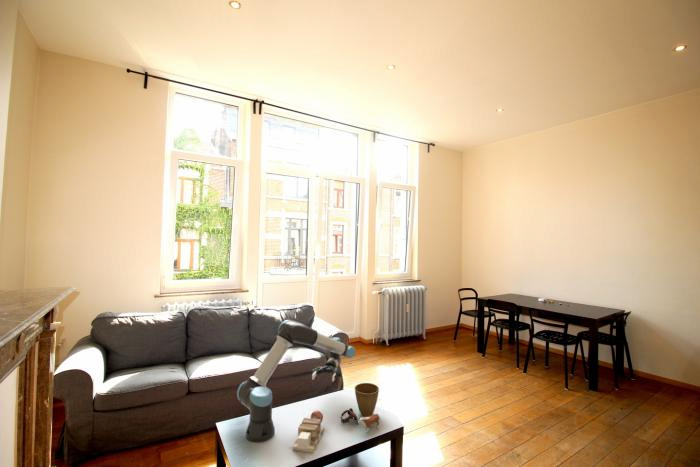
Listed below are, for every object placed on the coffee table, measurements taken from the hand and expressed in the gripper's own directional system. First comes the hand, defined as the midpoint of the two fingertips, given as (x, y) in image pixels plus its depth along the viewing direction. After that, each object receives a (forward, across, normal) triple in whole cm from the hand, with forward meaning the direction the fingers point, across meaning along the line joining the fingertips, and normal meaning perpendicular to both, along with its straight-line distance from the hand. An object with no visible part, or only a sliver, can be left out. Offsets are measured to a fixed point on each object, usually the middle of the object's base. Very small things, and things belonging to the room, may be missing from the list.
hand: (322, 378), depth 203 cm
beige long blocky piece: (+26, 0, -22) cm, 34 cm away
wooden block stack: (+20, 0, -21) cm, 29 cm away
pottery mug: (+4, -18, -23) cm, 29 cm away
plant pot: (-7, -26, -22) cm, 35 cm away
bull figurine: (+9, -30, -22) cm, 39 cm away
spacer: (+34, 0, -20) cm, 39 cm away
